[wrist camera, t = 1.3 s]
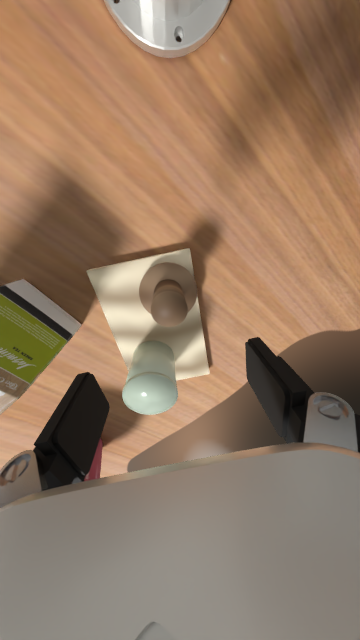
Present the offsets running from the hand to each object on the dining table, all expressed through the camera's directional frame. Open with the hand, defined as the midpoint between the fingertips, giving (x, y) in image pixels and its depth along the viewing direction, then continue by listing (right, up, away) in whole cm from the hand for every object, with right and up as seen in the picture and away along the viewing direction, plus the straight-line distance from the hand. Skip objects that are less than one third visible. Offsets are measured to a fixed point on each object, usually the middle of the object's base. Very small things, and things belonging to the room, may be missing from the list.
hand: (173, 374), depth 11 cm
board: (-3, +2, +19) cm, 19 cm away
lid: (-1, +7, +15) cm, 17 cm away
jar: (-4, -3, +20) cm, 21 cm away
